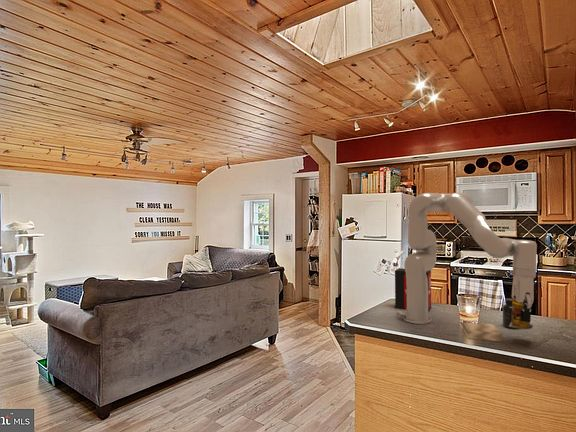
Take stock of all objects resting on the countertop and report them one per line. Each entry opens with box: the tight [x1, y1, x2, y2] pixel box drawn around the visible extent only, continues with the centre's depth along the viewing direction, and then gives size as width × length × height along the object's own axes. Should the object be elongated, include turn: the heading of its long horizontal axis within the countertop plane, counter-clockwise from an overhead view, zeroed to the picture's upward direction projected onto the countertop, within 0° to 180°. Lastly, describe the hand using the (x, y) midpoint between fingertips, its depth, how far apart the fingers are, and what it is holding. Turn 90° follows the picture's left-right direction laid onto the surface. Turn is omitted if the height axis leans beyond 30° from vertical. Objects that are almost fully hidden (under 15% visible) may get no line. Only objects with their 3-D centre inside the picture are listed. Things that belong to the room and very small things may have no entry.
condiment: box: [509, 295, 534, 331], centre depth 142 cm, size 7×8×12 cm
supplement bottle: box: [502, 298, 520, 330], centre depth 161 cm, size 7×7×12 cm
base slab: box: [462, 322, 503, 342], centre depth 150 cm, size 12×12×3 cm
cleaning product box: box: [394, 267, 432, 313], centre depth 193 cm, size 16×9×20 cm, turn 60°
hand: (522, 318), depth 141 cm, fingers closed on condiment, 6 cm apart
